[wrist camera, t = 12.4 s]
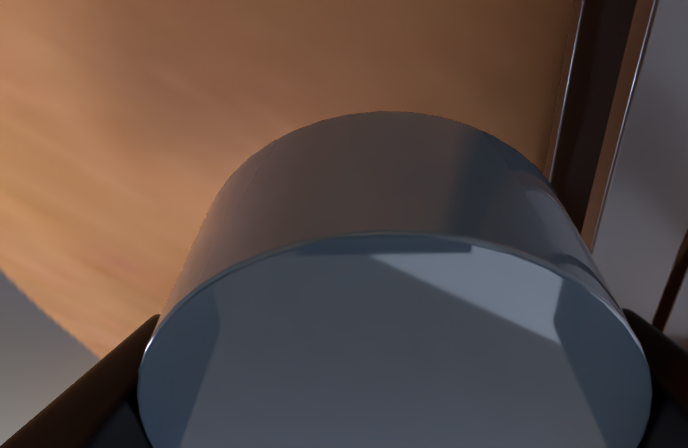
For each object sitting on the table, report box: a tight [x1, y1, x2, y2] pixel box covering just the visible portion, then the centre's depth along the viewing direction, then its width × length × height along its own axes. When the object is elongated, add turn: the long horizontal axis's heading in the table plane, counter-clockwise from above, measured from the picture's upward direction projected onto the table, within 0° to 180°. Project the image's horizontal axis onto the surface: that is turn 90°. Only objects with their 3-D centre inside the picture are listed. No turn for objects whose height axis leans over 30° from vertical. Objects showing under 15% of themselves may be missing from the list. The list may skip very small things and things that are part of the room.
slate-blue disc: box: [136, 111, 652, 448], centre depth 8 cm, size 6×6×3 cm
